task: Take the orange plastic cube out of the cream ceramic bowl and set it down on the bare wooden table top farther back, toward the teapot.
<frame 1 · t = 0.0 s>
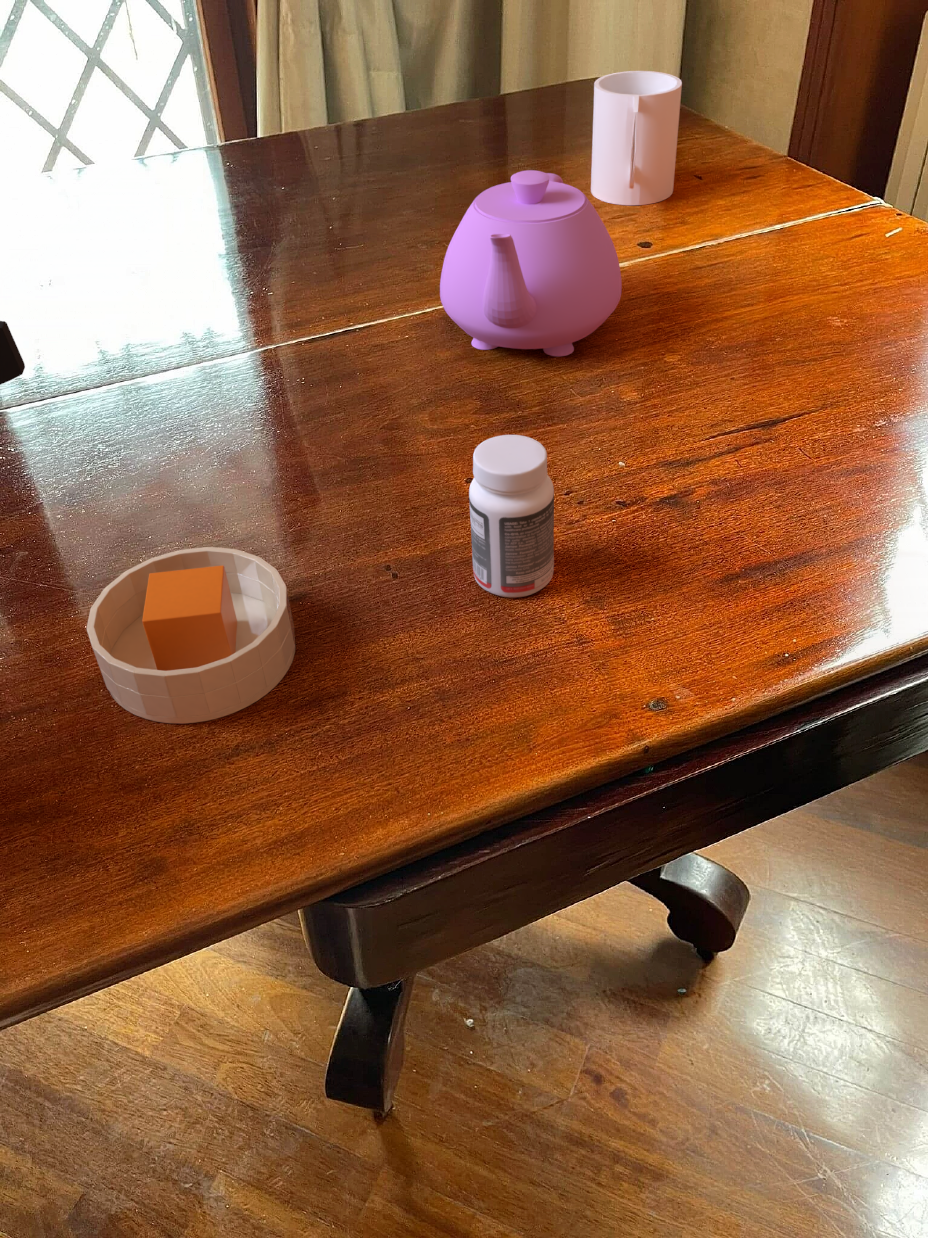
block: (199, 648, 60), resting on bowl
cup: (631, 198, 109), on the table
teapot: (527, 336, 87), on the table
pill bottle: (513, 576, 64), on the table
bowl: (201, 655, 60), on the table
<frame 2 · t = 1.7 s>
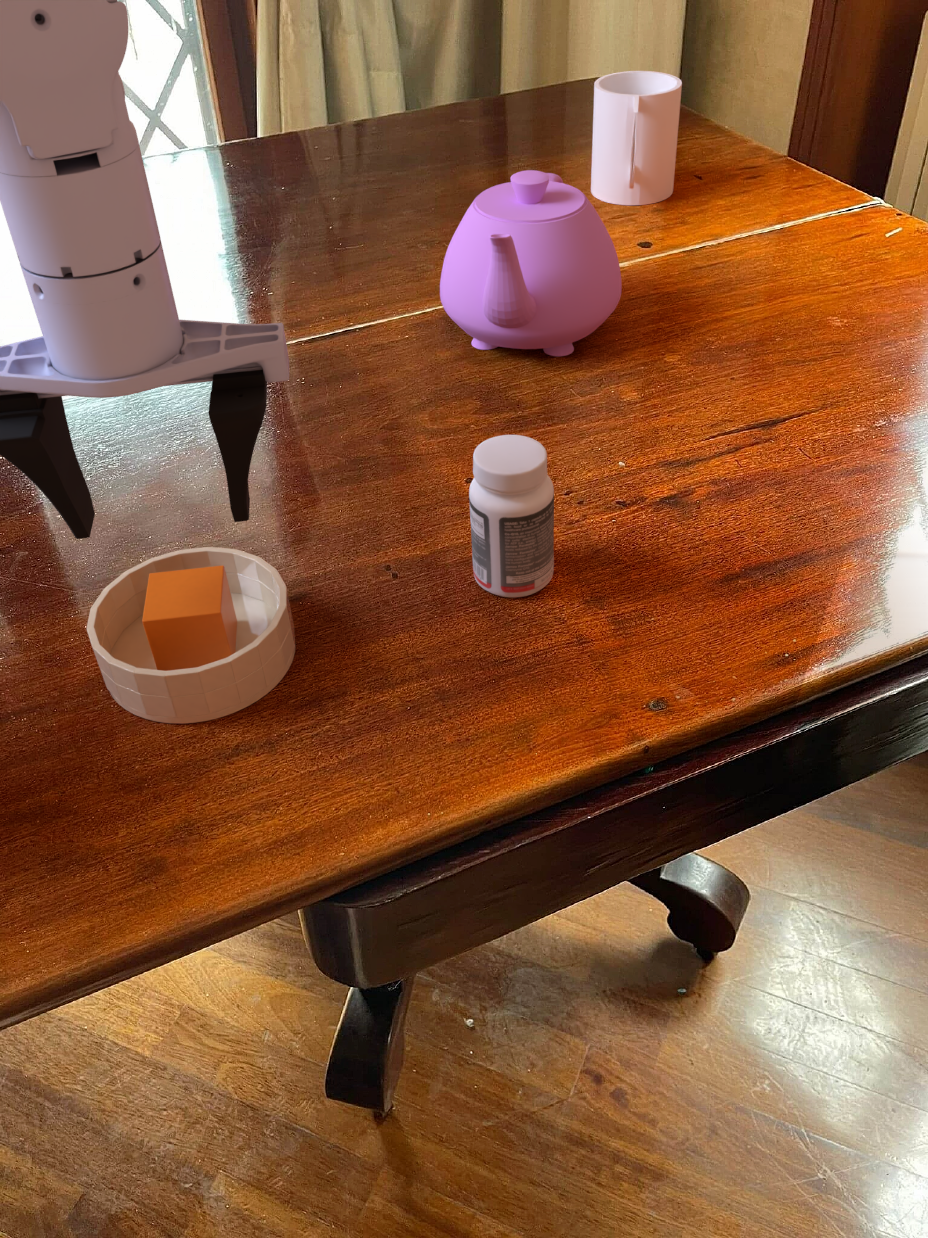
hand: (164, 518, 54), 9 cm above the table, tool pointing down, fingers open, 7 cm apart
nothing on the table moved.
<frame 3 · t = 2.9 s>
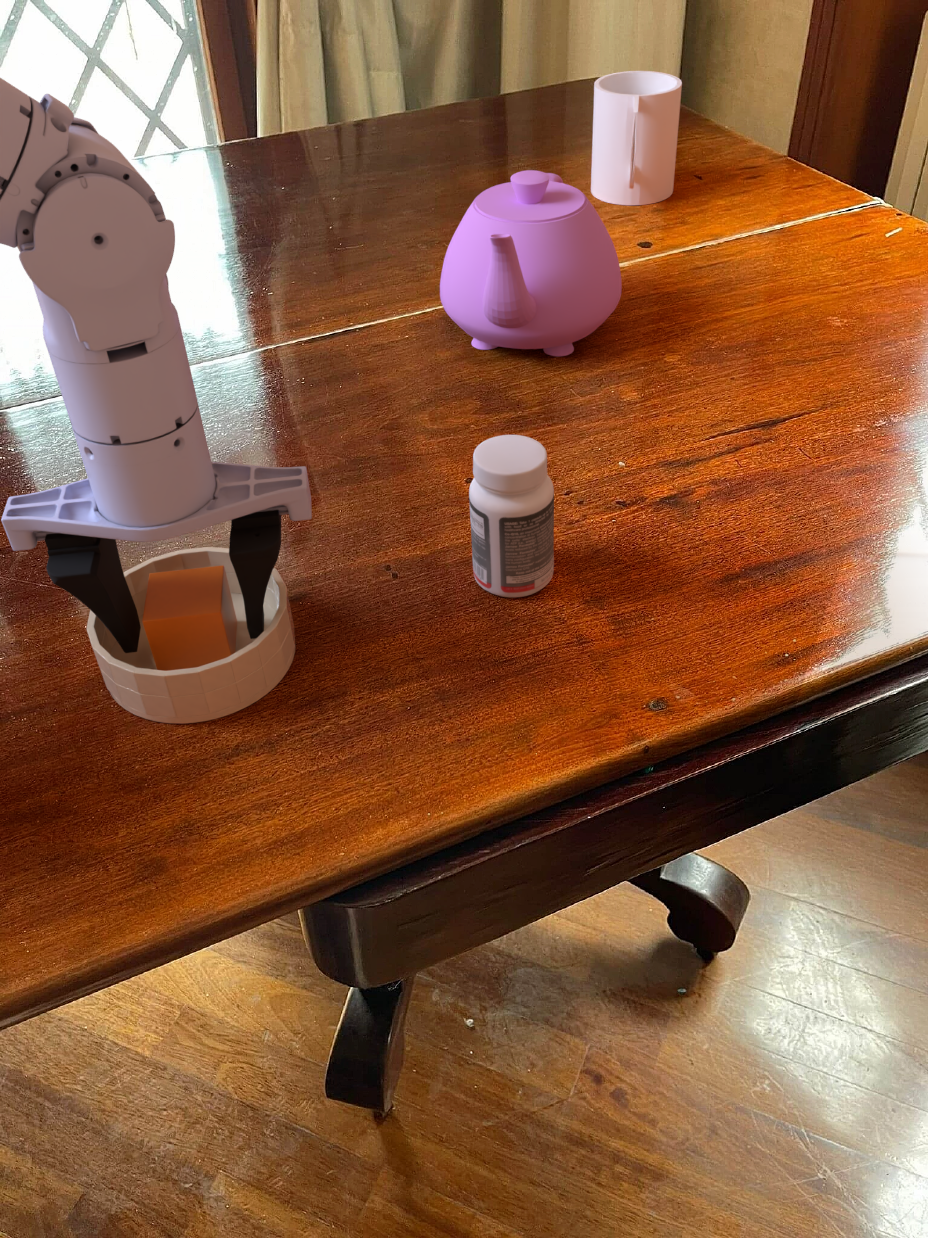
hand: (195, 633, 59), 2 cm above the table, tool pointing down, fingers open, 6 cm apart
nothing on the table moved.
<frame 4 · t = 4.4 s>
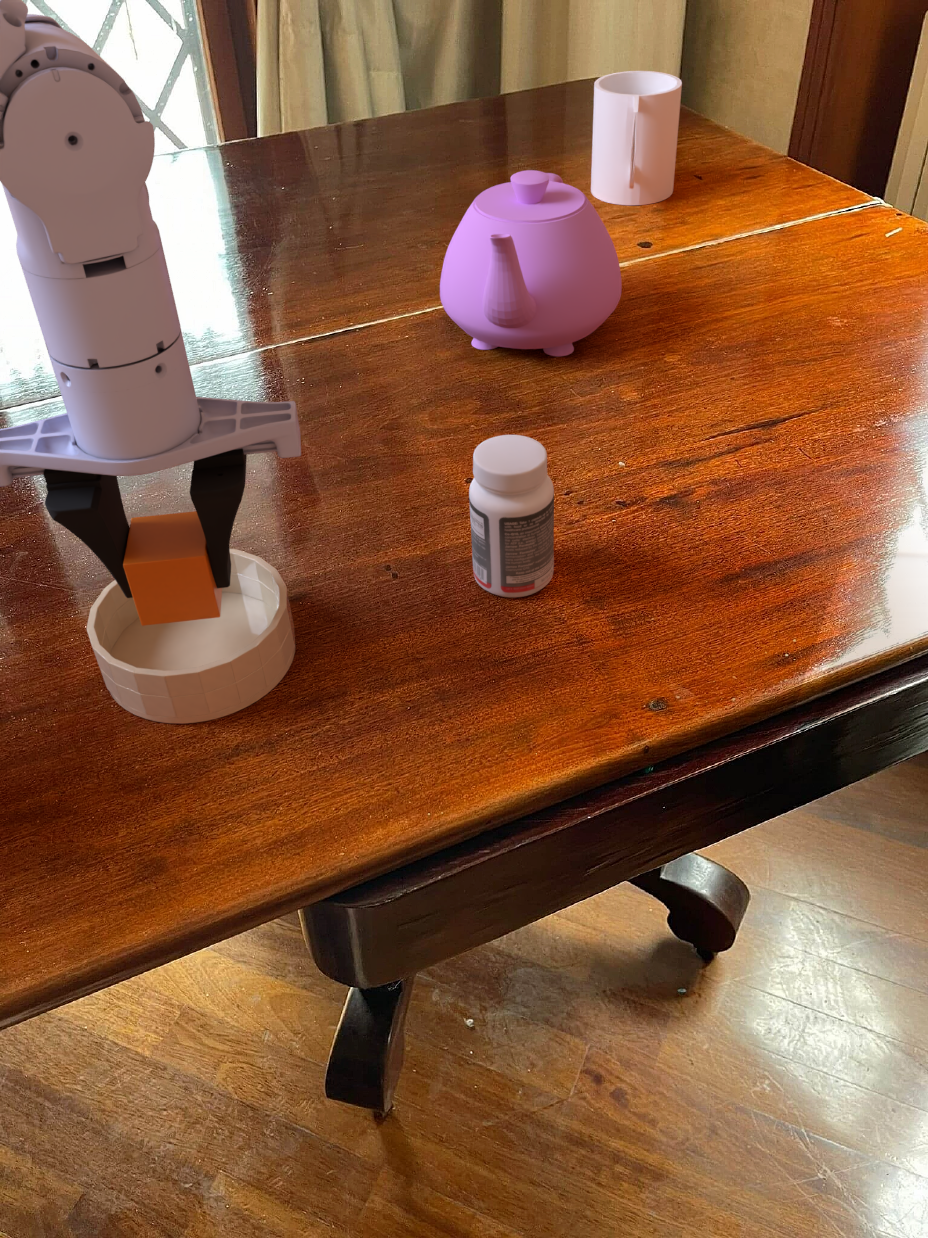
hand: (180, 580, 57), 5 cm above the table, tool pointing down, fingers closed on block, 4 cm apart
block: (183, 597, 57), point 4 cm above the table, touching gripper
everything else where it was.
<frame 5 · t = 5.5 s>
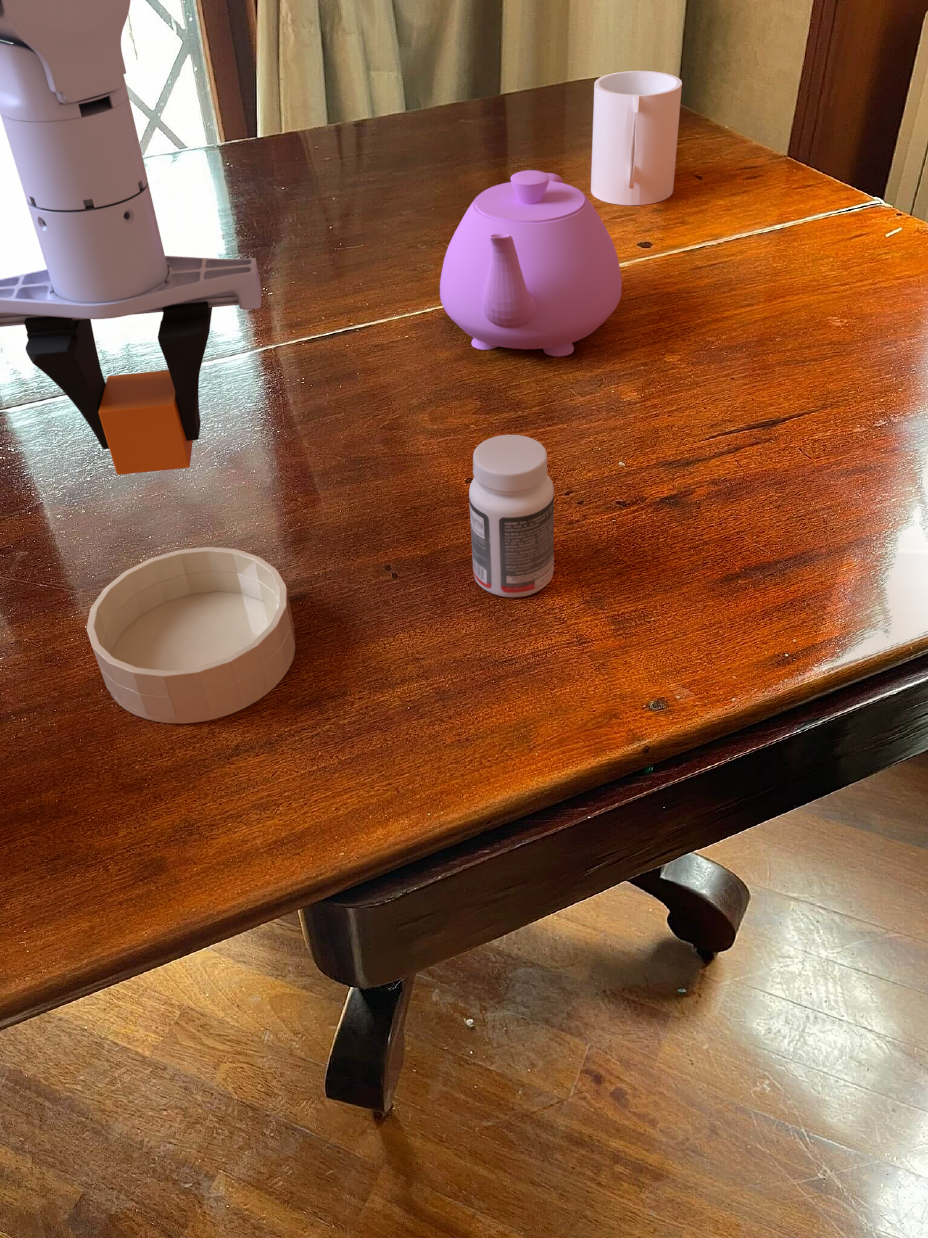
hand: (152, 435, 61), 9 cm above the table, tool pointing down, fingers closed on block, 4 cm apart
block: (156, 452, 62), point 8 cm above the table, touching gripper
everything else where it was.
when the fingers open (1 cm above the table, at t = 7.9 s): block stays where it is, on the table.
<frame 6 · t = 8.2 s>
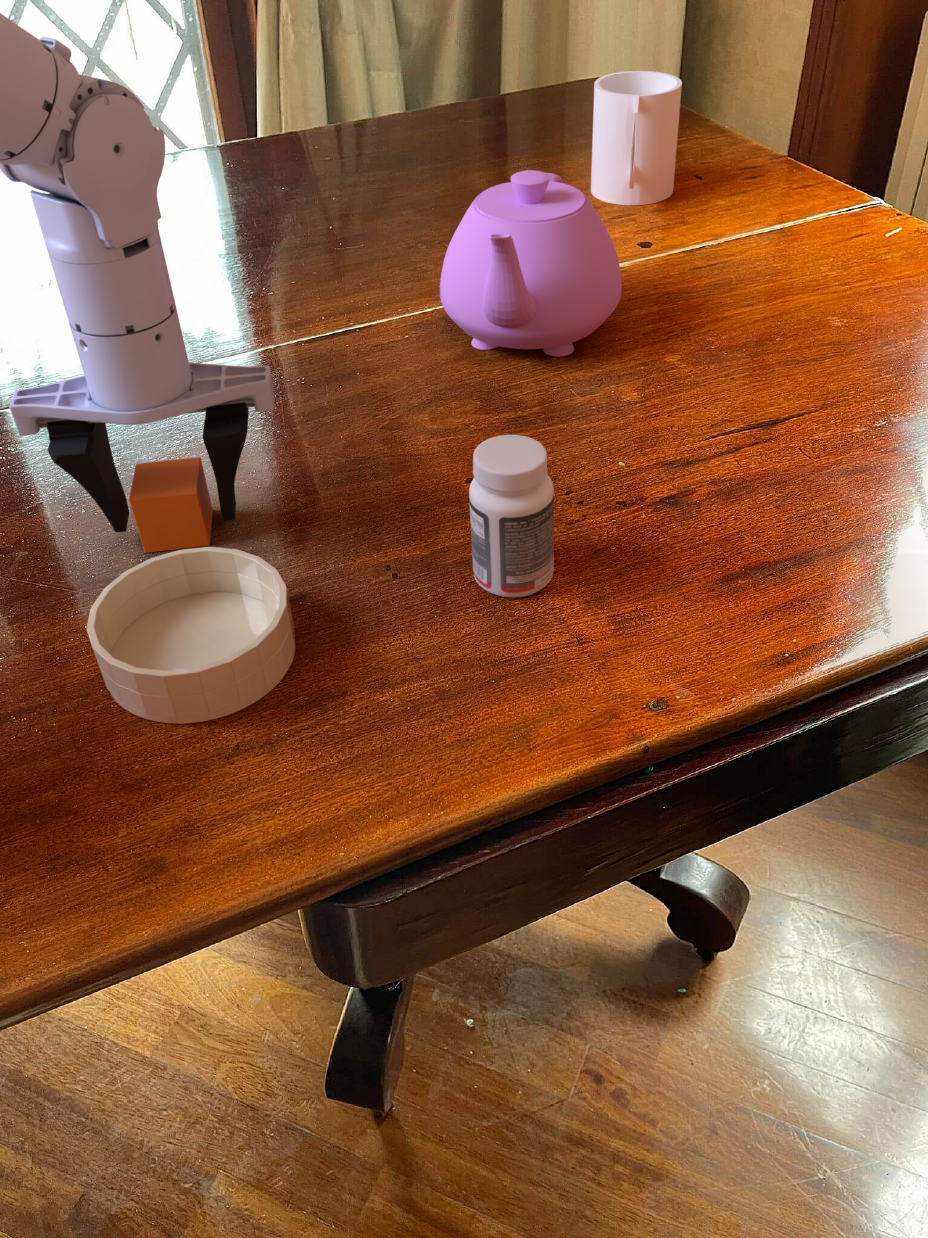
hand: (176, 517, 68), 1 cm above the table, tool pointing down, fingers open, 6 cm apart
block: (179, 530, 69), on the table
everything else where it was.
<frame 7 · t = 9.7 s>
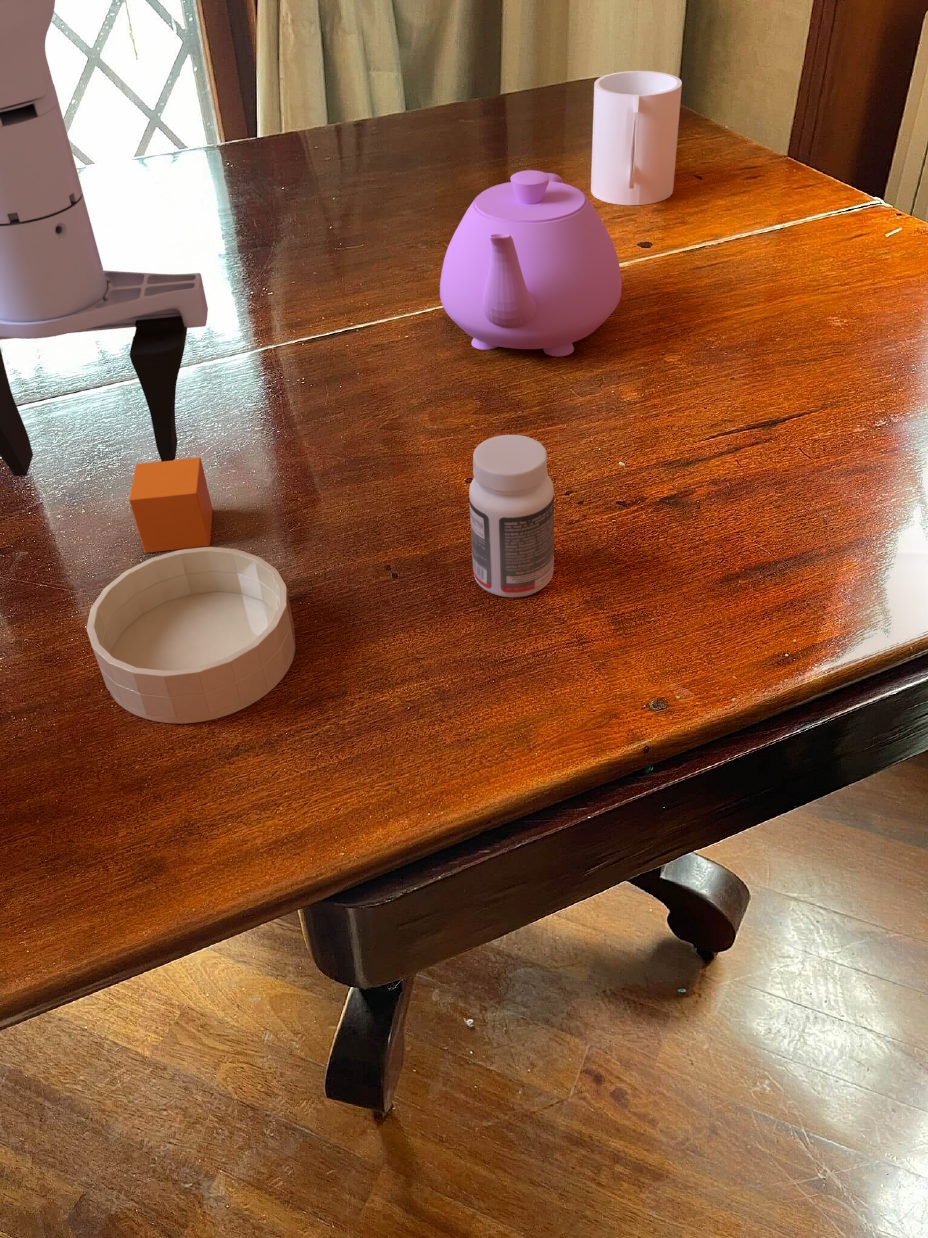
hand: (96, 458, 58), 9 cm above the table, tool pointing down, fingers open, 7 cm apart
nothing on the table moved.
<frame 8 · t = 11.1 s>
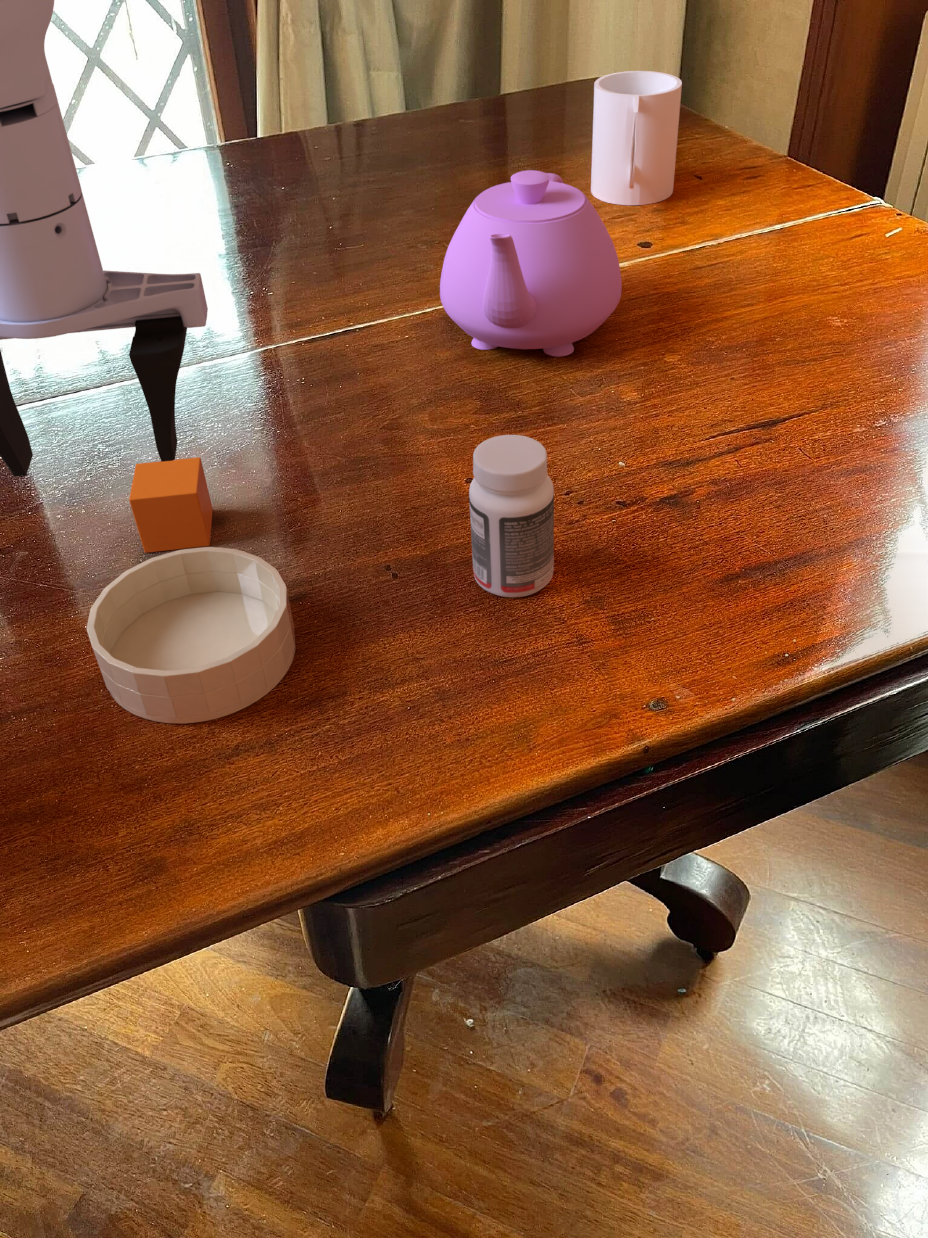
hand: (96, 458, 58), 9 cm above the table, tool pointing down, fingers open, 7 cm apart
nothing on the table moved.
at the end: block inside the target area (0.0 cm from its centre), on the table; block touching table; block 34.1 cm from the teapot (horizontally) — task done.
